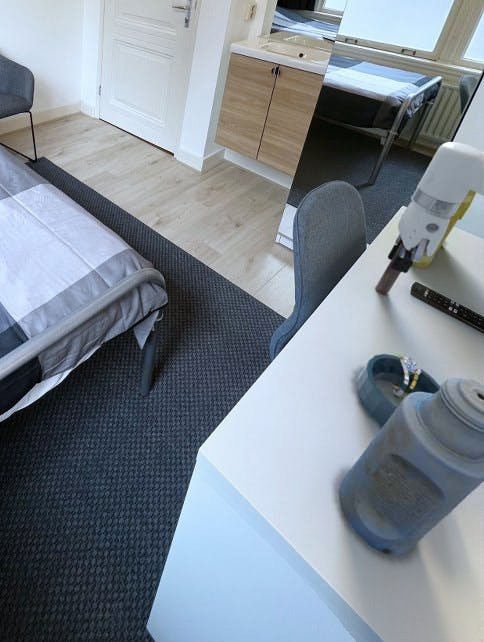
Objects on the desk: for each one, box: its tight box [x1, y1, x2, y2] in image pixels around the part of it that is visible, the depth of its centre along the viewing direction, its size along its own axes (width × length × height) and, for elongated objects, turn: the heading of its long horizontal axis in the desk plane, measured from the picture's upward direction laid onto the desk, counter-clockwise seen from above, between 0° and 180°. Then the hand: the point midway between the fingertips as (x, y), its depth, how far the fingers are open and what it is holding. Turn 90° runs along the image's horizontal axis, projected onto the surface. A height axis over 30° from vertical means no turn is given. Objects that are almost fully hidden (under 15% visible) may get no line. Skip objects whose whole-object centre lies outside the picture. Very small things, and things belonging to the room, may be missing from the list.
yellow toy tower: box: [412, 190, 477, 269], centre depth 109 cm, size 17×7×25 cm, turn 133°
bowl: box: [355, 353, 441, 427], centre depth 75 cm, size 13×13×6 cm
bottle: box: [338, 377, 484, 556], centre depth 54 cm, size 10×10×30 cm
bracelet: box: [392, 354, 422, 399], centre depth 77 cm, size 7×3×8 cm, turn 147°
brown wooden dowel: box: [374, 243, 414, 296], centre depth 96 cm, size 3×3×15 cm
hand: (396, 264), depth 95 cm, fingers closed on brown wooden dowel, 2 cm apart
